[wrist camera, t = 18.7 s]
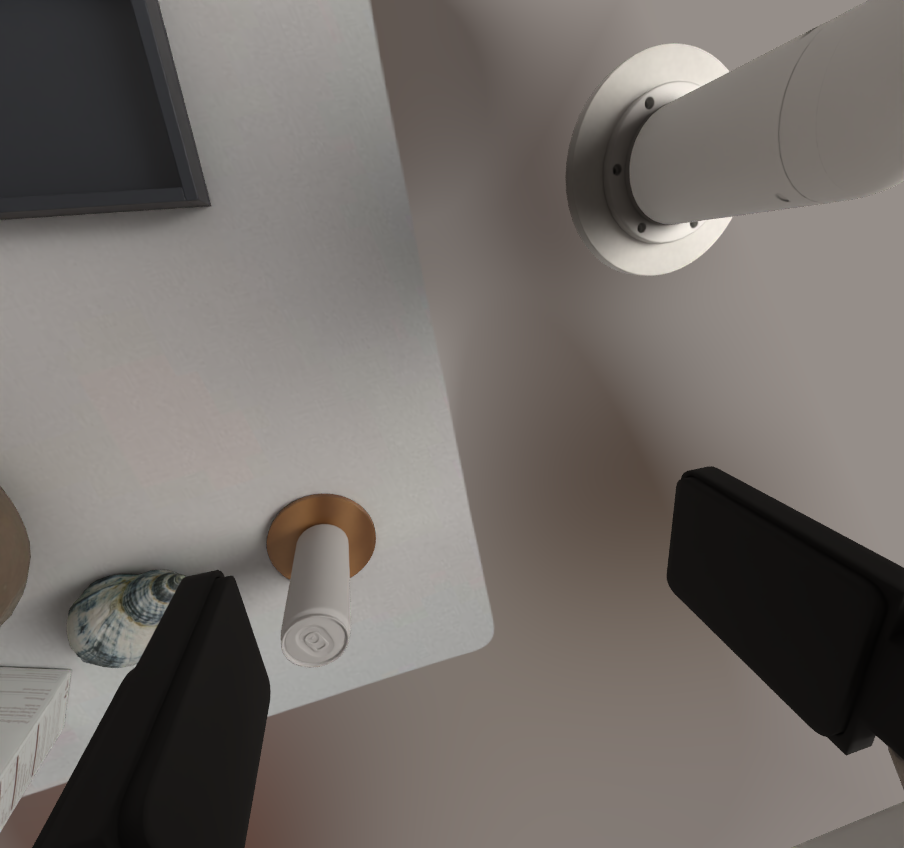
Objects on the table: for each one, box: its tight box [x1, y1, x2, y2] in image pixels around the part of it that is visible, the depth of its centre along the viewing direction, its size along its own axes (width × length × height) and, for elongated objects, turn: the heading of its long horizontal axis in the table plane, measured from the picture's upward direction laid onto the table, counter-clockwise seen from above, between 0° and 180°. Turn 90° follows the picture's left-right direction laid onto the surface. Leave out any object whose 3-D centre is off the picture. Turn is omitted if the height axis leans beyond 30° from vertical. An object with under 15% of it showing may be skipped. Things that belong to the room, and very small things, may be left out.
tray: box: [0, 0, 211, 220], centre depth 25 cm, size 18×14×3 cm
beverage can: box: [281, 524, 351, 668], centre depth 36 cm, size 5×5×12 cm
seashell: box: [67, 570, 186, 668], centre depth 37 cm, size 6×8×12 cm
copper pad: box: [267, 494, 376, 579], centre depth 41 cm, size 10×10×1 cm
